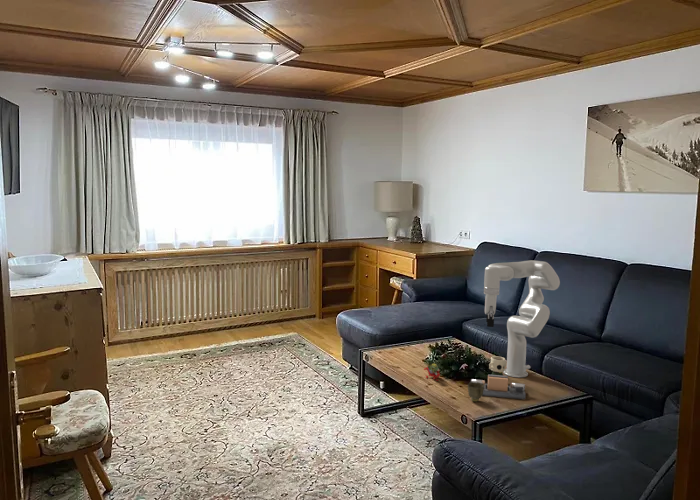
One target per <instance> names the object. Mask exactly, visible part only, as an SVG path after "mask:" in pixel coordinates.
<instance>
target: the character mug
mask: <svg viewBox="0 0 700 500" xmlns="http://www.w3.org/2000/svg"><path fill="white" fill-rule="evenodd" d="M488 366H489V367H488V369H489V370H491V371H492V372H491V375H501V376H504V375H503V374H504V373H503V372H504V370H505V369H506V368H507V360H506V358H505V357H502V356H491V357H490V363H489V364H488Z"/></svg>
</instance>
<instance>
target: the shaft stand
mask: <svg viewBox="0 0 700 500" xmlns="http://www.w3.org/2000/svg"><path fill="white" fill-rule="evenodd" d="M471 382H473V383H475V382H476V383H477V382H478V383H481V384H484V390H483V395H482V396H487V397H497V398H506V399H515V400H516V399H517V400H526V391H525V390H526V384H525V383H518V382H510V383H509V385H508V390H507V391H500V390H490V389H487V388H488V383H486V380H485V379H484V380H483V379H476V378H475V379H474V378H471V379H470V383H471Z"/></svg>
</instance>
